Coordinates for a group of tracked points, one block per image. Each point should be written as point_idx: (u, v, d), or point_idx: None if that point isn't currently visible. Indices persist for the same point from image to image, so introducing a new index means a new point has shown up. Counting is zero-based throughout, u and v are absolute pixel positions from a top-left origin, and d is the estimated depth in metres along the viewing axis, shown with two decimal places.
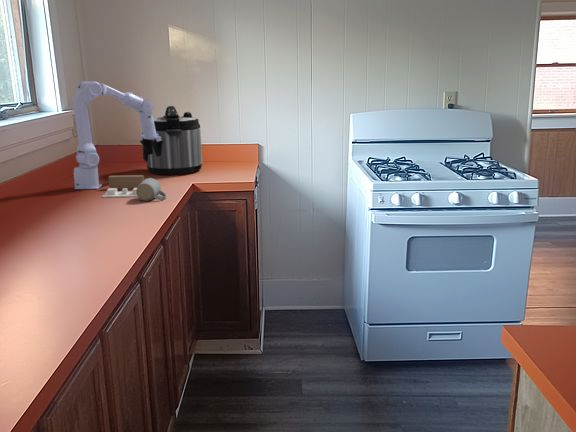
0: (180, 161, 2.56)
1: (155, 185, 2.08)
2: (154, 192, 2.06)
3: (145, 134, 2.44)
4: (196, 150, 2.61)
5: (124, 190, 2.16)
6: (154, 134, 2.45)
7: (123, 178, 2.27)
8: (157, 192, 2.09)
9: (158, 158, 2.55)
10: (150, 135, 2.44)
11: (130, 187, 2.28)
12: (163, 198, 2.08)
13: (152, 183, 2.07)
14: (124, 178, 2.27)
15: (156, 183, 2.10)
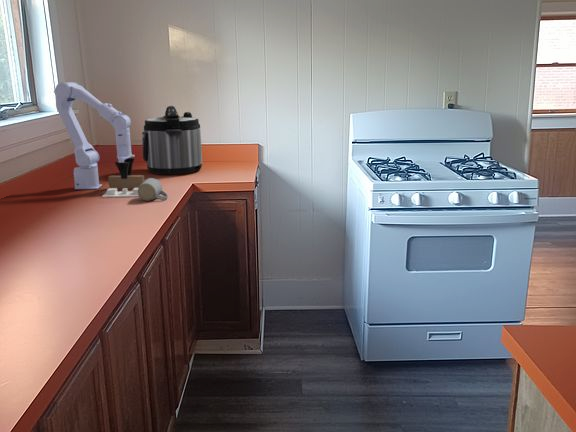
0: (180, 161, 2.56)
1: (156, 185, 2.08)
2: (155, 192, 2.06)
3: (117, 152, 2.25)
4: (196, 150, 2.61)
5: (124, 190, 2.16)
6: (124, 154, 2.23)
7: None
8: (158, 192, 2.09)
9: (158, 158, 2.55)
10: (119, 154, 2.23)
11: (130, 187, 2.28)
12: (164, 198, 2.08)
13: (153, 183, 2.07)
14: None
15: (158, 183, 2.10)
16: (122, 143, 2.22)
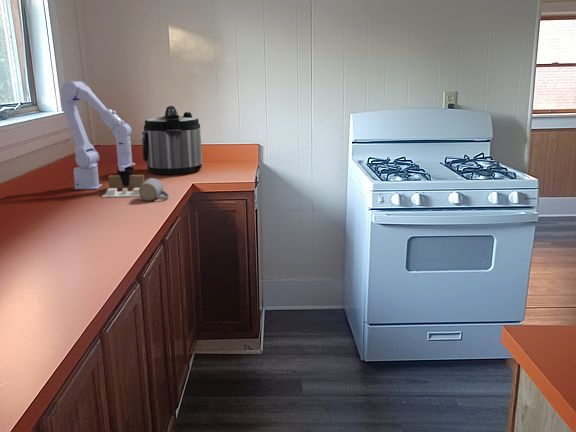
0: (180, 161, 2.56)
1: (157, 185, 2.08)
2: (156, 192, 2.06)
3: None
4: (196, 150, 2.61)
5: (124, 190, 2.16)
6: (125, 163, 2.24)
7: None
8: (159, 192, 2.09)
9: (158, 158, 2.55)
10: (120, 163, 2.24)
11: (130, 187, 2.28)
12: (165, 198, 2.08)
13: (154, 183, 2.07)
14: None
15: (159, 183, 2.10)
16: (123, 151, 2.23)
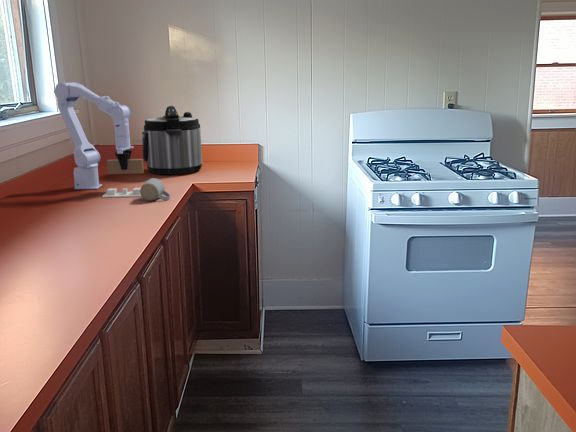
0: (180, 161, 2.56)
1: (159, 185, 2.08)
2: (158, 192, 2.06)
3: None
4: (196, 150, 2.61)
5: (124, 190, 2.16)
6: (123, 145, 2.19)
7: None
8: (161, 192, 2.09)
9: (158, 158, 2.55)
10: (118, 145, 2.19)
11: (129, 171, 2.23)
12: (167, 198, 2.08)
13: (155, 183, 2.07)
14: None
15: (160, 183, 2.10)
16: (119, 134, 2.18)
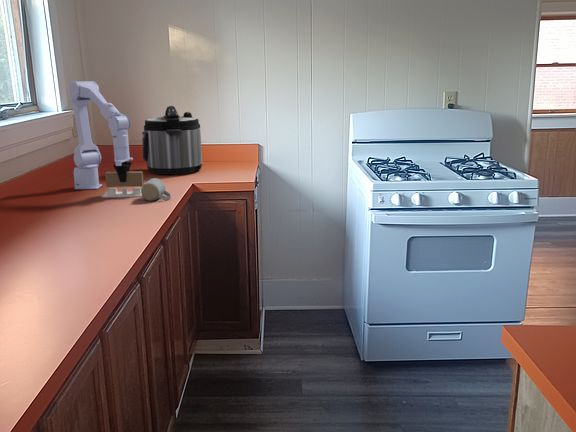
0: (180, 161, 2.56)
1: (160, 185, 2.08)
2: (159, 192, 2.06)
3: (114, 155, 2.12)
4: (196, 150, 2.61)
5: (124, 190, 2.16)
6: (122, 157, 2.11)
7: None
8: (162, 192, 2.09)
9: (158, 158, 2.55)
10: (117, 157, 2.11)
11: (128, 184, 2.15)
12: (168, 198, 2.08)
13: (156, 183, 2.07)
14: None
15: (161, 183, 2.10)
16: (116, 145, 2.10)
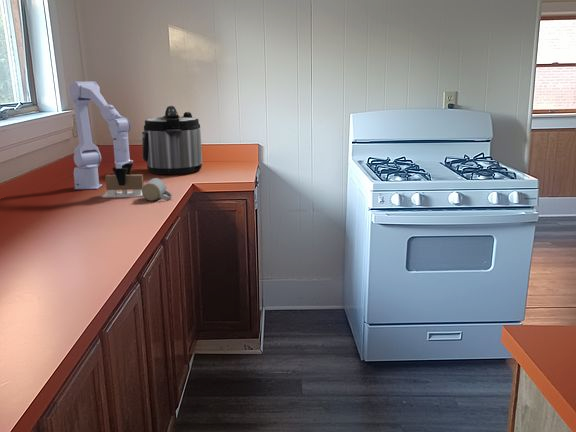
0: (180, 161, 2.56)
1: (161, 185, 2.08)
2: (160, 192, 2.06)
3: None
4: (196, 150, 2.61)
5: (124, 190, 2.16)
6: (122, 160, 2.11)
7: None
8: (163, 192, 2.09)
9: (158, 158, 2.55)
10: (117, 160, 2.11)
11: (128, 187, 2.15)
12: (169, 198, 2.08)
13: (157, 183, 2.07)
14: None
15: (162, 183, 2.10)
16: (116, 148, 2.10)
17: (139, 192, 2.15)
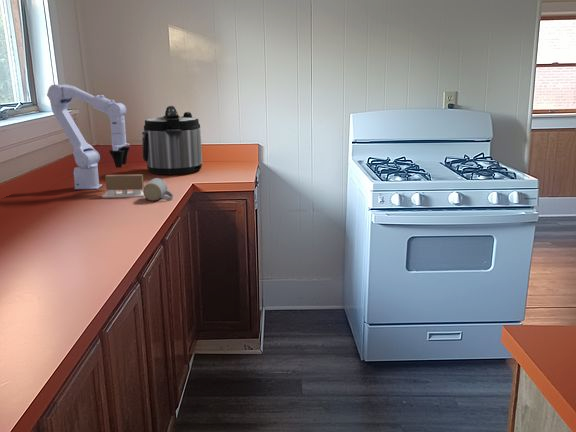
0: (180, 161, 2.56)
1: (162, 185, 2.08)
2: (161, 192, 2.06)
3: None
4: (196, 150, 2.61)
5: (124, 190, 2.16)
6: (119, 143, 2.21)
7: (121, 177, 2.14)
8: (164, 192, 2.09)
9: (158, 158, 2.55)
10: (114, 143, 2.21)
11: (128, 187, 2.15)
12: (170, 198, 2.08)
13: (158, 183, 2.07)
14: (122, 177, 2.14)
15: (163, 183, 2.10)
16: (116, 131, 2.19)
17: (139, 192, 2.15)
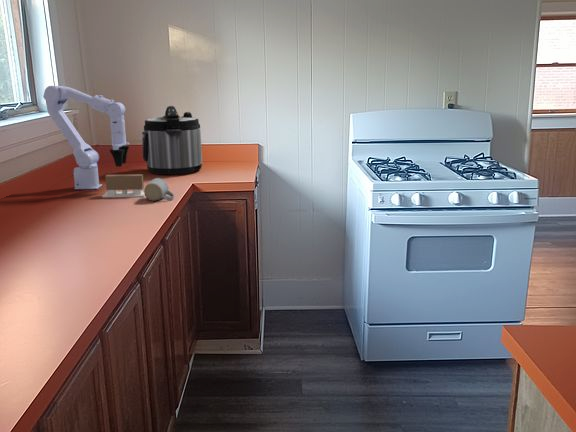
0: (180, 161, 2.56)
1: (163, 185, 2.08)
2: (162, 192, 2.06)
3: None
4: (196, 150, 2.61)
5: (124, 190, 2.16)
6: (119, 142, 2.23)
7: (121, 177, 2.14)
8: (165, 192, 2.09)
9: (158, 158, 2.55)
10: (114, 142, 2.23)
11: (128, 187, 2.15)
12: (171, 198, 2.08)
13: (159, 183, 2.07)
14: (122, 177, 2.14)
15: (164, 183, 2.10)
16: (117, 130, 2.22)
17: (139, 192, 2.15)
